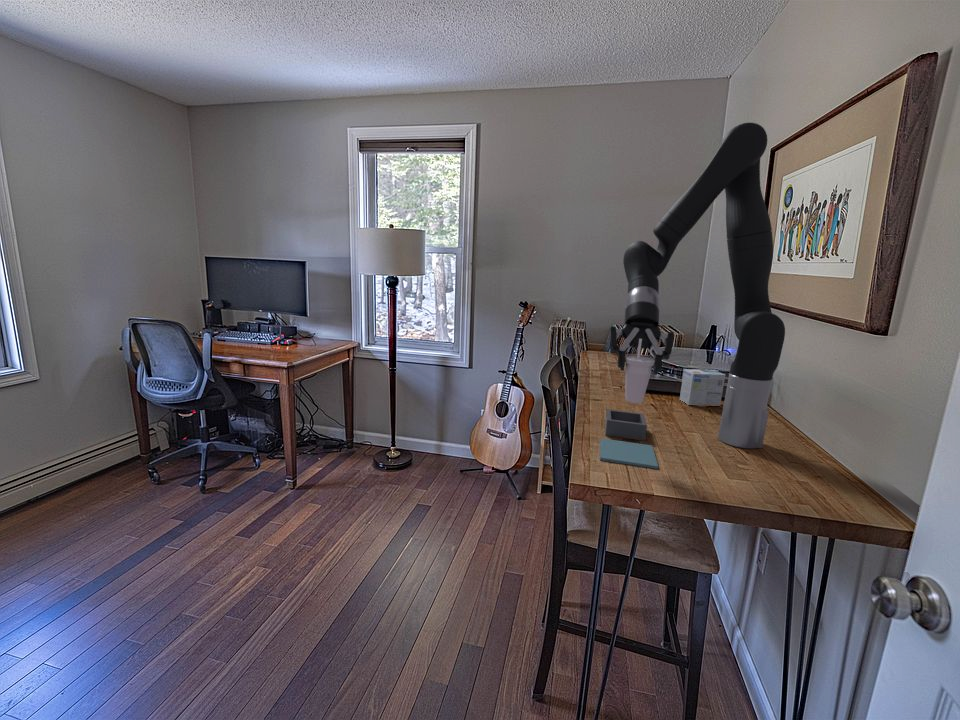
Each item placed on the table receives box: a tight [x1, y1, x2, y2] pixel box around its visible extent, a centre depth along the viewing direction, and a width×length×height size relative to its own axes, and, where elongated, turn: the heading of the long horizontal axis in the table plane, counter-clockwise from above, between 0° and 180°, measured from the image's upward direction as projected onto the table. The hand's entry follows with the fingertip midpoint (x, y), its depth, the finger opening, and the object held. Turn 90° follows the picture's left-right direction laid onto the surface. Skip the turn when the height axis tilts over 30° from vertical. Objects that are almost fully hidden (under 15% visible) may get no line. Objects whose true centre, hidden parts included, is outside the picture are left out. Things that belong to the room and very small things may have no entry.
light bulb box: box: [679, 368, 726, 407], centre depth 149 cm, size 11×7×11 cm, turn 94°
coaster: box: [599, 437, 659, 470], centre depth 106 cm, size 12×12×1 cm
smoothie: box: [624, 339, 655, 404], centre depth 102 cm, size 6×6×14 cm
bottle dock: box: [604, 408, 648, 441], centre depth 120 cm, size 10×10×4 cm
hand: (639, 370), depth 101 cm, fingers closed on smoothie, 6 cm apart
